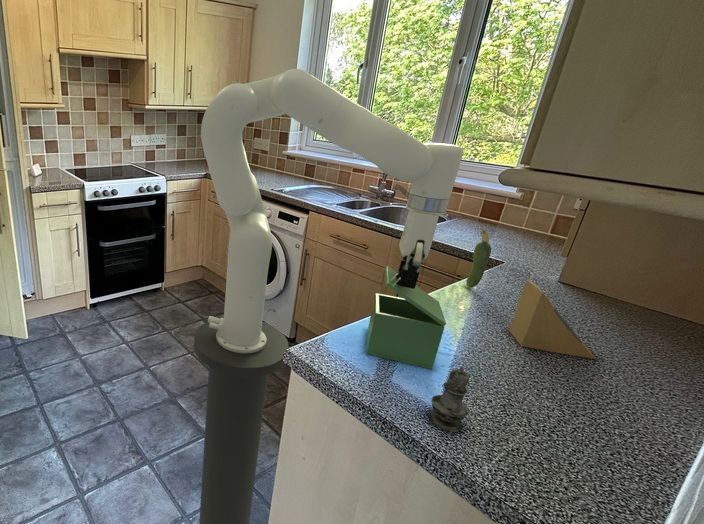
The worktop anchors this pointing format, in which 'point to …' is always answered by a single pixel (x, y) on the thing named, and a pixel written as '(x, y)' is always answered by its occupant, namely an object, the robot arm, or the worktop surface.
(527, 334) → the sandwich container
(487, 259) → the vegetable
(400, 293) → the bin lid
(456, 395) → the dark grey rounded piece
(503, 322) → the worktop surface
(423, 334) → the waste bin
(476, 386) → the worktop surface
